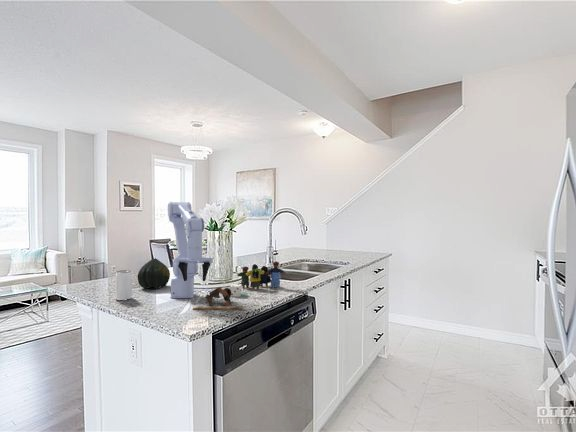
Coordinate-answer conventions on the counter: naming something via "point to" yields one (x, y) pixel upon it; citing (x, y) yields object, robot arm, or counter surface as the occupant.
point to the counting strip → (218, 308)
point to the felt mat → (243, 294)
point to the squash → (153, 274)
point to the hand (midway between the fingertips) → (194, 280)
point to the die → (235, 290)
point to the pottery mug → (215, 294)
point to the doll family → (264, 277)
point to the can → (123, 285)
